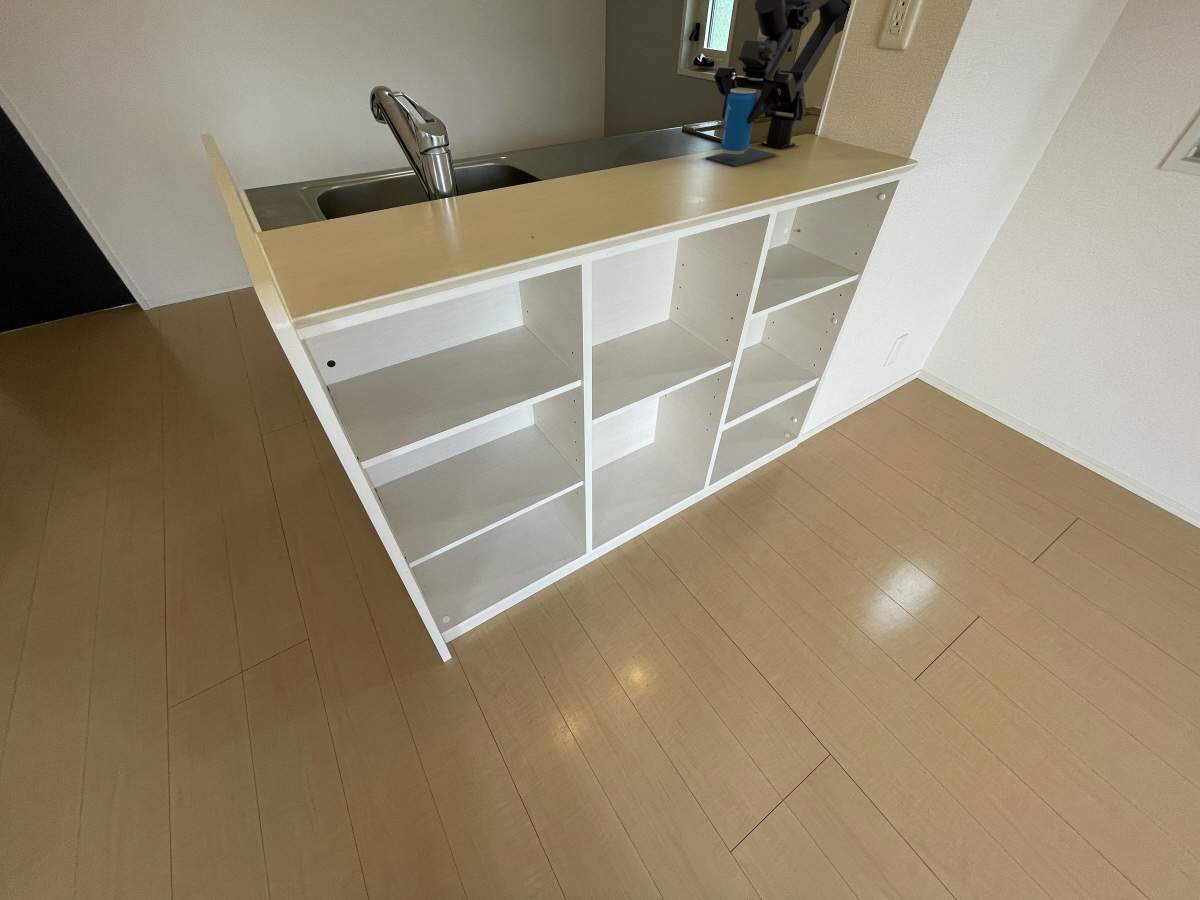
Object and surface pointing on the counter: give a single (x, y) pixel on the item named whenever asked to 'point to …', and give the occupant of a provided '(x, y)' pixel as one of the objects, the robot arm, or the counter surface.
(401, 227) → the counter surface
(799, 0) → the robot arm
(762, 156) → the mat
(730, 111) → the beverage can
